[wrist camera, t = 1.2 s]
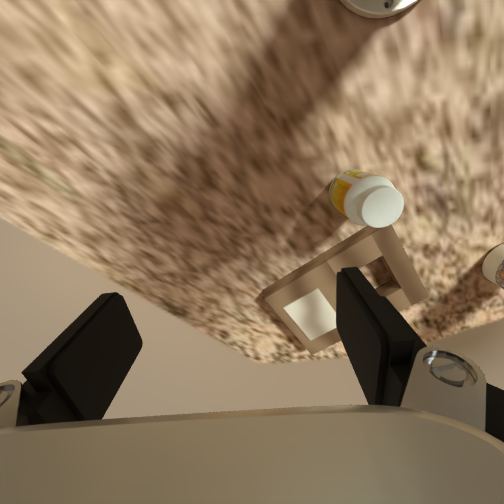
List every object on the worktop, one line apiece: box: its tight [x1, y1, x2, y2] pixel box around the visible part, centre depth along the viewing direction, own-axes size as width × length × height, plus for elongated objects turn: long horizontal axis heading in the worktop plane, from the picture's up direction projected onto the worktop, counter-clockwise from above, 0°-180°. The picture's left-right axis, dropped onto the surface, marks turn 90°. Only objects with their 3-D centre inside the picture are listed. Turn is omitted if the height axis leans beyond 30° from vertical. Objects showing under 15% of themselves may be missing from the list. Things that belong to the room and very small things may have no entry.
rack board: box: [263, 224, 429, 355], centre depth 36 cm, size 20×14×3 cm
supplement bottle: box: [329, 170, 404, 228], centre depth 27 cm, size 5×5×10 cm
